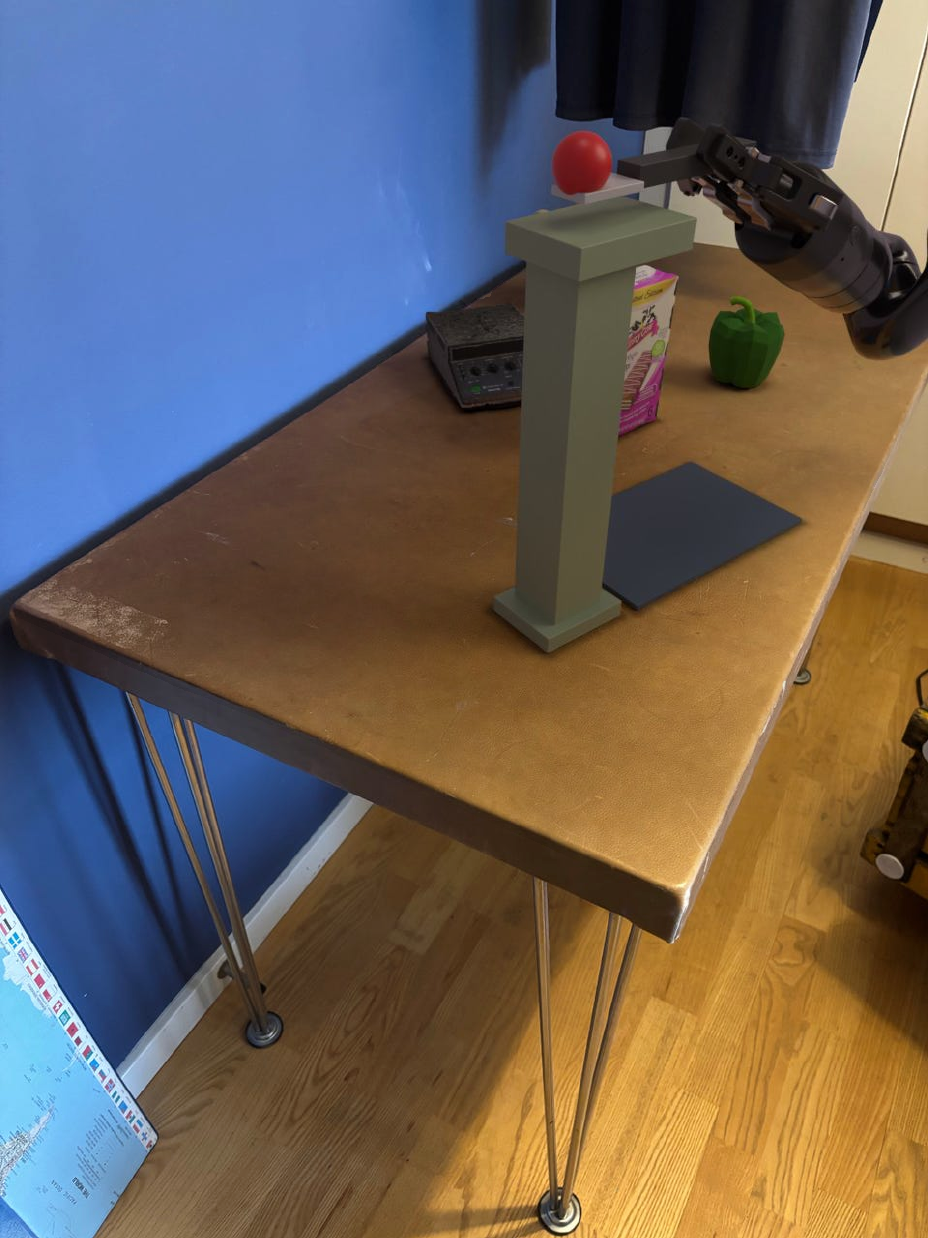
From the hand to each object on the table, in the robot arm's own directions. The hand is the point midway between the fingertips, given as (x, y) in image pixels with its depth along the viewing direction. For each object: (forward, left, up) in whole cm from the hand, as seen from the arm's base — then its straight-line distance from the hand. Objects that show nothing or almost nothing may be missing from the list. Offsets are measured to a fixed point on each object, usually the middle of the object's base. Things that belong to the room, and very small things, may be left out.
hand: (690, 136), depth 58 cm
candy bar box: (+5, -27, -35) cm, 45 cm away
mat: (-3, -8, -35) cm, 36 cm away
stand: (+5, +6, -35) cm, 36 cm away
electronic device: (+21, -37, -35) cm, 55 cm away
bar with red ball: (+2, +2, -2) cm, 4 cm away
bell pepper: (-9, -43, -35) cm, 56 cm away
